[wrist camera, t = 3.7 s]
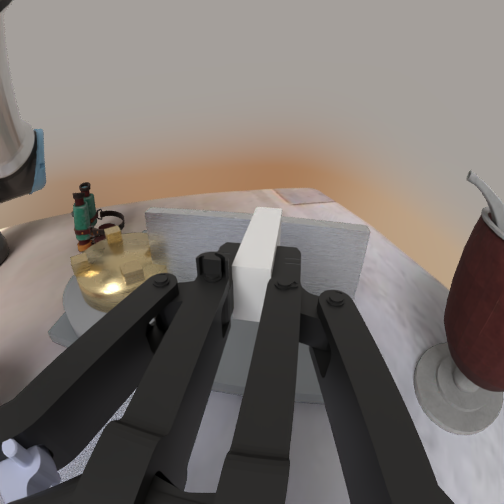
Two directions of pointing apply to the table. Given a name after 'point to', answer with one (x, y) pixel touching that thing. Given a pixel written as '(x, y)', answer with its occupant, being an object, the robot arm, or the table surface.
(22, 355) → the table surface
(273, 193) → the table surface
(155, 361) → the robot arm
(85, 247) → the binoculars
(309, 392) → the grey flat slab
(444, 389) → the mate gourd
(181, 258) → the two-tone lugged fixture
